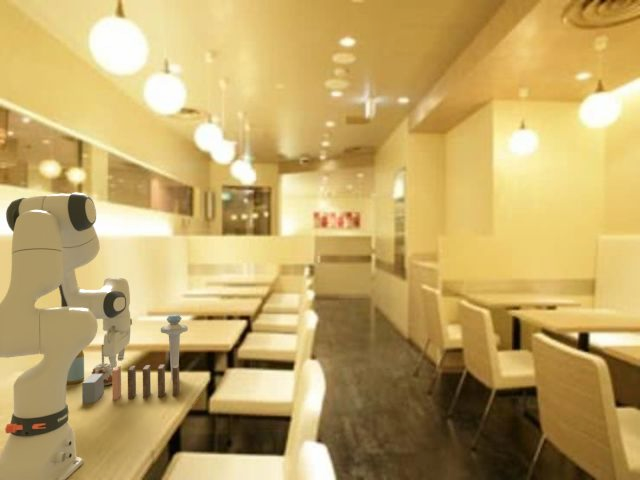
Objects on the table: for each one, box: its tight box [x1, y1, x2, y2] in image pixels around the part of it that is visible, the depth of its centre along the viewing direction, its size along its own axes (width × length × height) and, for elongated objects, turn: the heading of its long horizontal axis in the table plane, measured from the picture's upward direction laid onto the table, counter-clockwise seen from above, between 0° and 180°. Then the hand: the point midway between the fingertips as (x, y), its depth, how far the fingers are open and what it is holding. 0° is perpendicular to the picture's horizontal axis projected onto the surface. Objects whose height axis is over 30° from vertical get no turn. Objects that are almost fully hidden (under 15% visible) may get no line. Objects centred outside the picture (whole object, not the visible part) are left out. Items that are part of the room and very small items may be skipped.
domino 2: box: [127, 365, 137, 400], centre depth 168 cm, size 2×5×10 cm, turn 9°
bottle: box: [66, 349, 85, 385], centre depth 185 cm, size 7×7×15 cm
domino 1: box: [111, 366, 122, 400], centre depth 168 cm, size 2×5×10 cm, turn 9°
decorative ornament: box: [91, 344, 114, 386], centre depth 182 cm, size 8×8×15 cm
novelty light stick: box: [160, 314, 188, 380], centre depth 188 cm, size 10×10×25 cm
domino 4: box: [157, 364, 166, 398], centre depth 170 cm, size 2×5×10 cm, turn 9°
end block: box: [81, 373, 105, 404], centre depth 166 cm, size 10×4×7 cm, turn 9°
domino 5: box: [172, 363, 180, 397], centre depth 171 cm, size 2×5×10 cm, turn 9°
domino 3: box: [142, 364, 152, 399], centre depth 169 cm, size 2×5×10 cm, turn 9°
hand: (117, 363), depth 167 cm, fingers open, 8 cm apart
